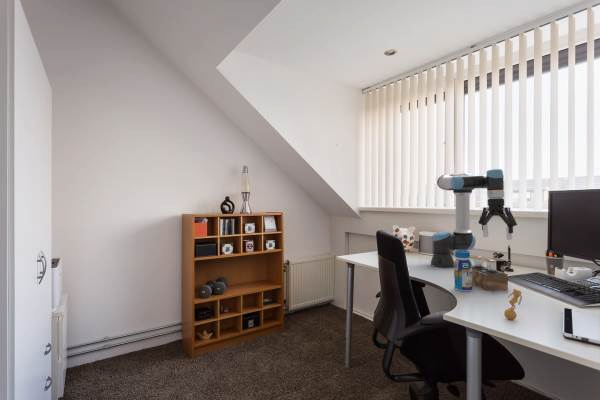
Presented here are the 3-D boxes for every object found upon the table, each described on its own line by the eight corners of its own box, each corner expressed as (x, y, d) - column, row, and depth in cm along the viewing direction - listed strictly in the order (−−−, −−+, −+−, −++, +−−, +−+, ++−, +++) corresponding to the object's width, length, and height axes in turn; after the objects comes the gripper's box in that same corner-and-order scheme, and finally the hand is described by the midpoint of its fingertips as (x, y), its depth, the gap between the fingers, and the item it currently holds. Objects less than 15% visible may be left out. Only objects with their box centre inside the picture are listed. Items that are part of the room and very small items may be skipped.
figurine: (499, 315, 123) (498, 285, 123) (516, 315, 122) (515, 285, 122) (510, 323, 115) (509, 291, 115) (528, 324, 114) (526, 292, 114)
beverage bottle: (455, 286, 164) (454, 249, 164) (473, 288, 159) (472, 250, 159) (453, 290, 157) (451, 251, 157) (471, 292, 152) (470, 253, 152)
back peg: (473, 270, 171) (472, 256, 171) (479, 270, 172) (479, 255, 172) (478, 272, 167) (477, 257, 167) (484, 271, 168) (484, 257, 168)
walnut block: (465, 281, 173) (465, 266, 173) (483, 280, 174) (483, 265, 174) (488, 290, 155) (487, 274, 155) (508, 289, 156) (507, 272, 156)
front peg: (485, 274, 161) (485, 259, 161) (492, 274, 162) (492, 259, 162) (491, 276, 157) (490, 261, 157) (498, 276, 158) (497, 260, 158)
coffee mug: (500, 274, 187) (500, 257, 187) (509, 277, 178) (508, 260, 178) (480, 274, 188) (480, 258, 188) (488, 277, 179) (487, 260, 179)
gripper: (470, 199, 172) (471, 236, 172) (513, 197, 148) (515, 241, 148) (480, 198, 174) (481, 235, 174) (524, 197, 151) (526, 240, 150)
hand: (497, 238), depth 161 cm, fingers open, 13 cm apart
